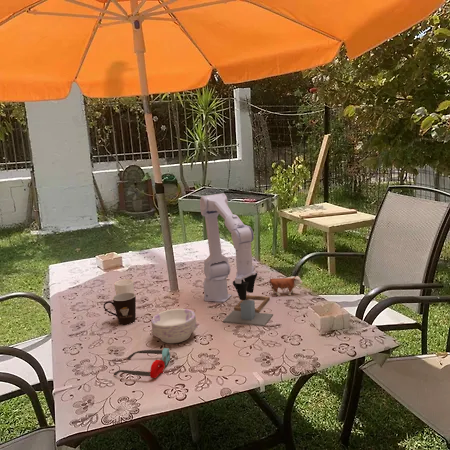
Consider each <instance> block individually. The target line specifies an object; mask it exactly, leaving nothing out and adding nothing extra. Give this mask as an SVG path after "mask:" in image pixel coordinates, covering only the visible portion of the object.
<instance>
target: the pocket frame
mask: <svg viewBox="0 0 450 450" xmlns="http://www.w3.org/2000/svg"><path fill="white" fill-rule="evenodd" d="M246 300H254V301H255V300H258V301H259V300H260V301H262V302H261V303H260V304H259V305H258V307H257V308H255V312H256V313H261V310H262V309H264V307H265V306H266V305H267V304H268V303H269V301H270V300H271V299H270V296H263V295H262V296H261V295H249V294H246ZM242 302H243V300H240V301H239V302H238V303H237V304H236V305H235V306H234V307H233V311H241V305H240V304H241V303H242Z"/></svg>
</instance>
